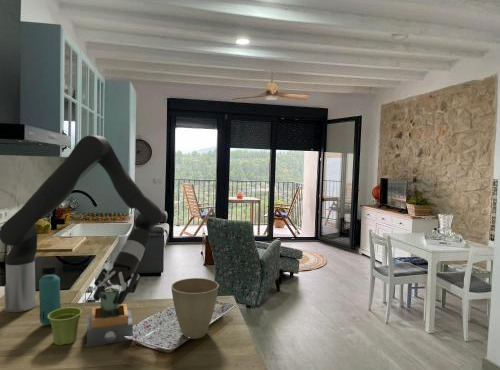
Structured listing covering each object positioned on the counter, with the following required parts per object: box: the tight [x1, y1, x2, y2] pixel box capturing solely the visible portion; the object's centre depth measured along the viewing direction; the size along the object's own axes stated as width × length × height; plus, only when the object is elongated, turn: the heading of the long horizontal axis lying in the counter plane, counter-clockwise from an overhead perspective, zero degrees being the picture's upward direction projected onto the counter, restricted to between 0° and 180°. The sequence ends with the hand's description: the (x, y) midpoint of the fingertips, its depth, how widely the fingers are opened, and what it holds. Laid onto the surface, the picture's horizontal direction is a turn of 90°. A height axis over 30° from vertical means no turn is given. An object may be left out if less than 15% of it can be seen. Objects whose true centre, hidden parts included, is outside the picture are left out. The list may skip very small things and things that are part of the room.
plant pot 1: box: [48, 306, 83, 346], centre depth 117 cm, size 9×9×9 cm
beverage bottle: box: [38, 264, 62, 325], centre depth 128 cm, size 6×7×20 cm
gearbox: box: [86, 303, 134, 348], centre depth 121 cm, size 13×14×8 cm
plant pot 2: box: [170, 277, 220, 340], centre depth 123 cm, size 15×15×16 cm
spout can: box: [98, 287, 120, 318], centre depth 120 cm, size 8×6×10 cm
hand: (106, 301), depth 120 cm, fingers open, 8 cm apart
